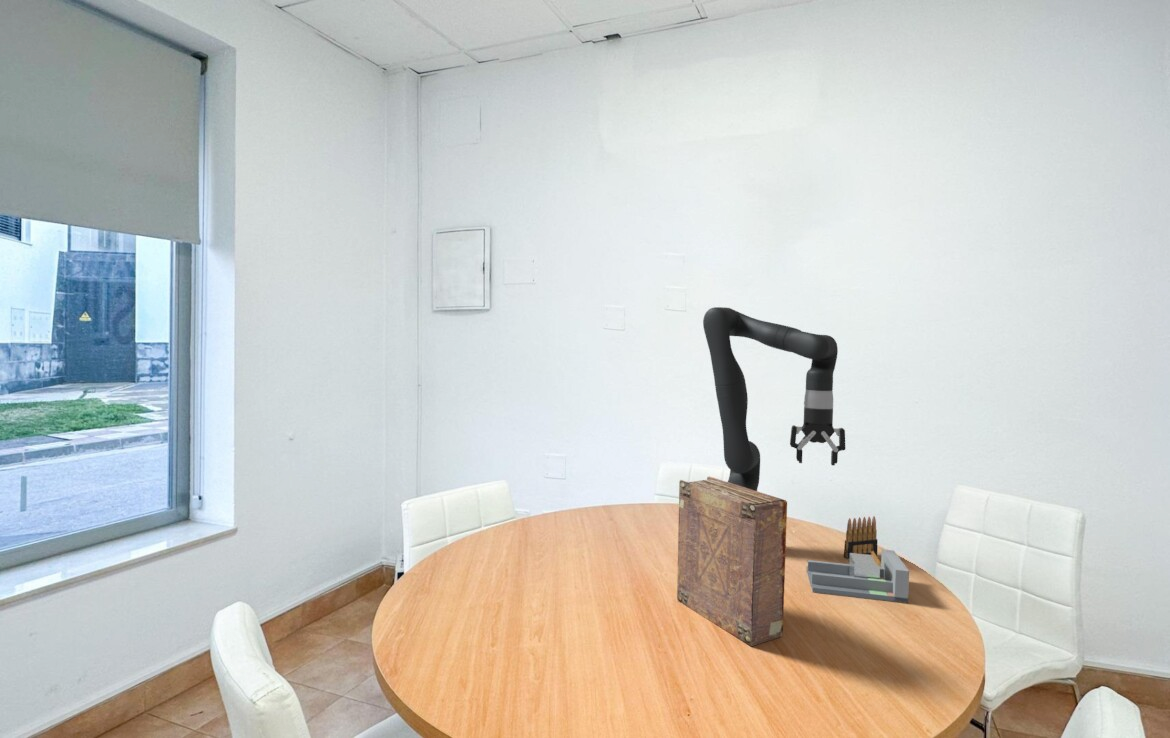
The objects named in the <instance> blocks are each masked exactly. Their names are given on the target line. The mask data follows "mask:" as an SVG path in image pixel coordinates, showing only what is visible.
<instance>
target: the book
mask: <svg viewBox="0 0 1170 738" xmlns="http://www.w3.org/2000/svg"><path fill="white" fill-rule="evenodd" d="M678 490H679V491H678V494H679V495H678V496H679V497H678V532H677V533H678V534H677V535H678V537H677V538H678V540H677V542H678V543H677V544H678V545H677V546H678V547H677V586H676V587H677V588H676V589H677V594H676V595H677V596H676V599H677V601H678V602H679V603H681V604H682V605H683V606H686V608H689V609H690V610H691V611H694V613H696V614H698V615H699V616H701V617H703V618H704V619H706V620H707V621H709V622H711V623H712V624H714V625H716V626H718V627H719V628H721V629H722V630H724V631H725V632H727V633H728V634H730V635H732V636H733V637H735V638H736V639H738V640H739V641H741V642H743V643H745V644H746V645H747V646H749V647H755V646H757V645H760V644H763V643H766V642H769V641H772V640H775V639H780V638H781V637H783V635H784V634H783V633H784V608H785V581H786V579H785V575H786V551H787V550H786V548H787V547H786V546H787V519H788V518H787V517H788V516H787V515H788V501H787V500H786V499H783V498H779V497H776V496H773V495H771V494H767V493H763V492H760V491H758V490H757V491H754V490H751V489H748V488H745V487H742V486H738V485H735V484H732V483H729V482H728V481H725V480H722V479H719V478H715V477H712V476H707V478H706V479H703V480H695V481H686V480H684V479H680V480H679V486H678Z"/></svg>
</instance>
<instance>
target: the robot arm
mask: <svg viewBox="0 0 1170 738" xmlns="http://www.w3.org/2000/svg"><path fill="white" fill-rule="evenodd" d="M702 323H703V331H704V334H705V339H706V343H707V346H708V349H709V355H710V361H711V366H712V371H713V372H712V373H713V379H714V386H715V387H714V388H715V393H716V400H717V405H718V411H719V418H720V421H721V428H722V434H723V435H722V438H723V442H722V443H723V458H724V462H725V465H726V466H727V467H728V469H729V470H730V471H729V476H728V480H727V482H729V483H732V484H735V485H738V486H742V487H745V488H748V489H751V490H754V491H758V489H759V483H760V475H761V474H760V473H761V472H760V471H761V453H760V450H759V448H758V446H757V445H756V443H754V442H753V441H750V440H749V436H748V431H747V415H748V413H747V412H748V404H749V403H748V399H749V398H748V390H747V384H746V379H745V376H744V375H745V374H744V373H743V370H742V368H741V367H740V364H739V363H738V361H737V359H736V357H735V354H734V352H733V349H732V345H731V337H739V338H741V337H742V338H747V339H751V340H754V341H756V342H759V343H760V344H762V345H765V346H767V347H771V348H773V349H778V350H781V351H784V352H788V353H794V354H796V355H798V356H799V357H803V358H806V359H809V360H811V366H810V368H809V369H808V370H807V371H806V375H805V376H806V377H805V394H804V399H803V400H804V401H803V424H802V426H796V425H791V428H790V429H791V430H790V441H789V445H790V447H791V448H794V449H796V453H795V455H796V457H795V459H796V461H797V462H798V463H799V464H803V448H805V446H807V444H808V443H809V442H811V443H819V444H824V443H827V445H829V447H830V448H831V452H830V453H831V454H830V464H831V466H835V465H836V464H838V455H839V452H841V451H845V450H846V430H845V428H843V427H839V428H834V425H833V424H834V422H833V421H834V420H833V419H834V417H833V416H834V392H833V390H834V389H833V388H834V371H835V369H836V364H837V359H838V352H839V351H838V343H837V341H836V339H835V338H834V337H832V336H831V335H828V334H818V333H817V334H816V333H812V332H808V331H807V332H806V331H802V330H801V329H798V328H795V327H792V326H789V325H783V324H779V323H773V322H769V321H765V320H761V319H757V318H754V317H751V316H749V315H746V314H744V313H741V312H739V311H738V310H735V309H733V308H731V307H726V306H725V307H721V306H719V307H718V306H717V307H715V306H714V307H711V308H709V309H708V310H707V311H706V312H705V314H704V316H703V320H702ZM800 432H802V433H803V435H804V436H803V437H802V438H801V440H800V441H799V442H798V443H797V442H796V441H797V435H798V434H800ZM834 433H835V434H836V436H838V445H836V444H835V442H834V441H832V439H831V436H833V434H834Z"/></svg>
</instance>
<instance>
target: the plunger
mask: <svg viewBox="0 0 1170 738" xmlns="http://www.w3.org/2000/svg"><path fill="white" fill-rule="evenodd" d="M848 560H849V563H848V564H849V576H850V577H860V578H873V579H880V568H881V560H880V559H879V557H878V555H877V556H876V554H875V553H874V551H871V555H866V554H856V553H850V559H848Z"/></svg>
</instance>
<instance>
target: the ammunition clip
mask: <svg viewBox="0 0 1170 738" xmlns="http://www.w3.org/2000/svg"><path fill="white" fill-rule="evenodd" d="M871 519H872V520H871ZM877 535H878V534H877V520H876V516H874V515H873V517H872V518H871V516H868V518H866V517H865V516H864V517H863V518H862V519H861V517H858V520H857V518H856V517H853V520H851V518H848V520H847V526H846V533H845V540H844V549H843V550H844V551H843V557H844V558H845V559H847V560H849V559H850V553H856V554H866V555H871V551H874V553H875V554H876V556H877V557H878V539H877Z"/></svg>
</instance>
